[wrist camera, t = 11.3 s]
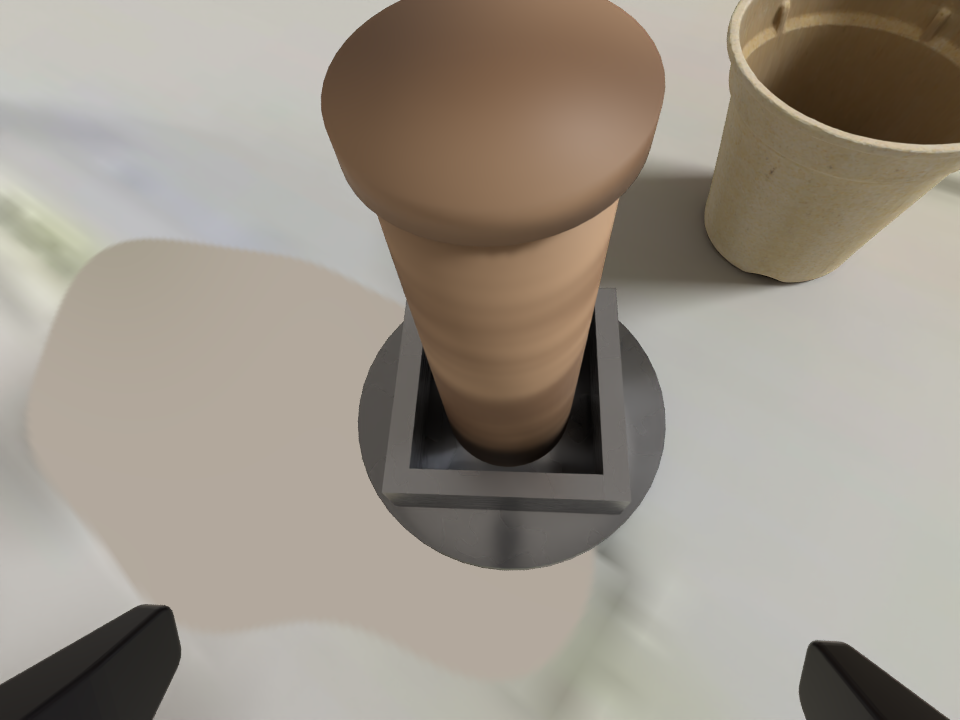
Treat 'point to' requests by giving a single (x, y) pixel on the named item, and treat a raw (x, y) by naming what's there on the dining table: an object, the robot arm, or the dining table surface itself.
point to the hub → (521, 489)
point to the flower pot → (831, 127)
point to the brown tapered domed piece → (497, 189)
